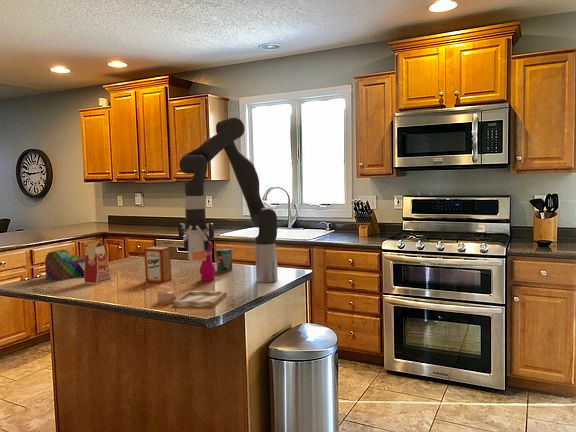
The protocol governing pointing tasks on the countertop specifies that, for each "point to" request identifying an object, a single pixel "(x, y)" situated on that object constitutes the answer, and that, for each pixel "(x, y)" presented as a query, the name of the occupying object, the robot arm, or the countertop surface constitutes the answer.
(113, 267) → the countertop surface
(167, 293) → the tan rounded blob
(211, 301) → the maple tray
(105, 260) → the milk carton
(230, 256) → the canned tomato
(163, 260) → the baking soda box
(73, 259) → the rainbow checkered teapot
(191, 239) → the skincare box
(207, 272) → the pepper mill
